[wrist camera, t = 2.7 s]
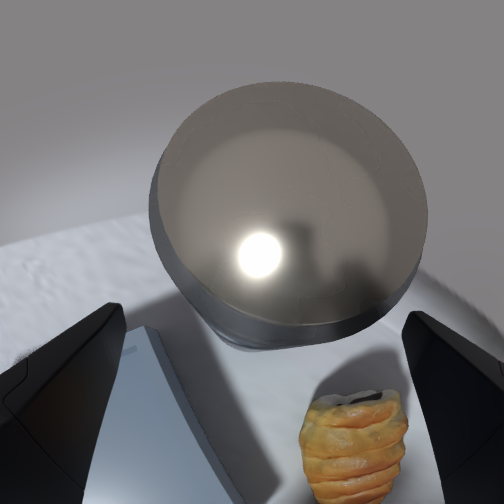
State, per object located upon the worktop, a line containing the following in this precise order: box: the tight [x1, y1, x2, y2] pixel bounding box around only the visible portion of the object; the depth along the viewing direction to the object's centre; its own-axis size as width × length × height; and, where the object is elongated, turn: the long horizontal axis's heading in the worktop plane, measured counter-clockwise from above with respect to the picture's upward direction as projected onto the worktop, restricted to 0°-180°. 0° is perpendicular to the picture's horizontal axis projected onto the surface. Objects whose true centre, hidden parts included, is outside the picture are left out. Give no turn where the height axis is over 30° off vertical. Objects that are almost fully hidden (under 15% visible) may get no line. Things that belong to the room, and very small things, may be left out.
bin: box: [82, 326, 246, 504], centre depth 14 cm, size 14×14×3 cm
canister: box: [149, 82, 428, 352], centre depth 12 cm, size 6×6×15 cm
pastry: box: [299, 389, 409, 504], centre depth 15 cm, size 9×7×4 cm
